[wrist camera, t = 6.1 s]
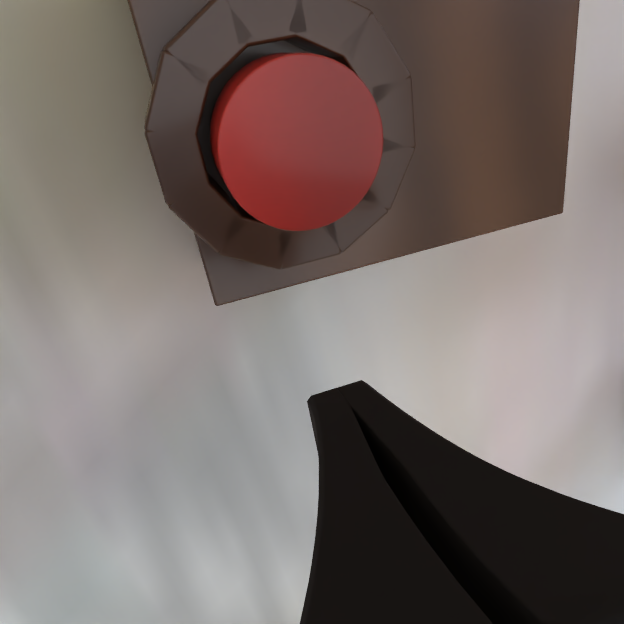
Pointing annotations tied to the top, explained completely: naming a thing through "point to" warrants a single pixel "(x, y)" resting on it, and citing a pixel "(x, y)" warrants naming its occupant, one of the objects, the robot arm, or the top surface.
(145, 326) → the top surface
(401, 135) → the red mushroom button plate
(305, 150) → the red push button
